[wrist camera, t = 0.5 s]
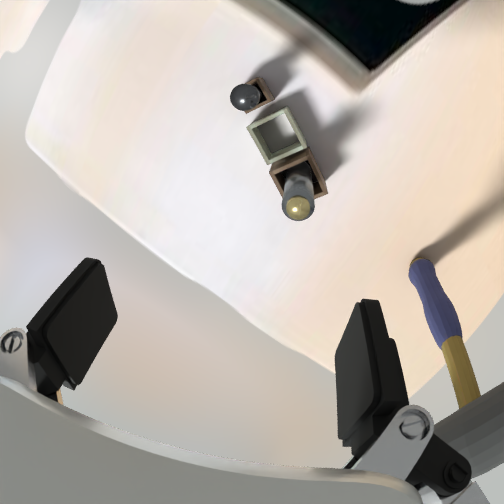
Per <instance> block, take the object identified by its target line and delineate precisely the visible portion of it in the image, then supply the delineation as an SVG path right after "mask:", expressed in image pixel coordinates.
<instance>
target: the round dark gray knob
mask: <svg viewBox="0 0 504 504" xmlns="http://www.w3.org/2000/svg"><path fill="white" fill-rule="evenodd" d="M261 96H262V94H261V91H260V90H258V89H257V88H256V87H255V86H253V85H250V84H240V85H238V86H236V87H235V88H234V89H233V90H232V92H231V95H230V100H231V103H232V105H233V106H234V107H235V108H237V109H238V110H242V111H247V110H250V109H252V108H254V107H256V106H257V104H258V103H259V101H260V98H261Z"/></svg>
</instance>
